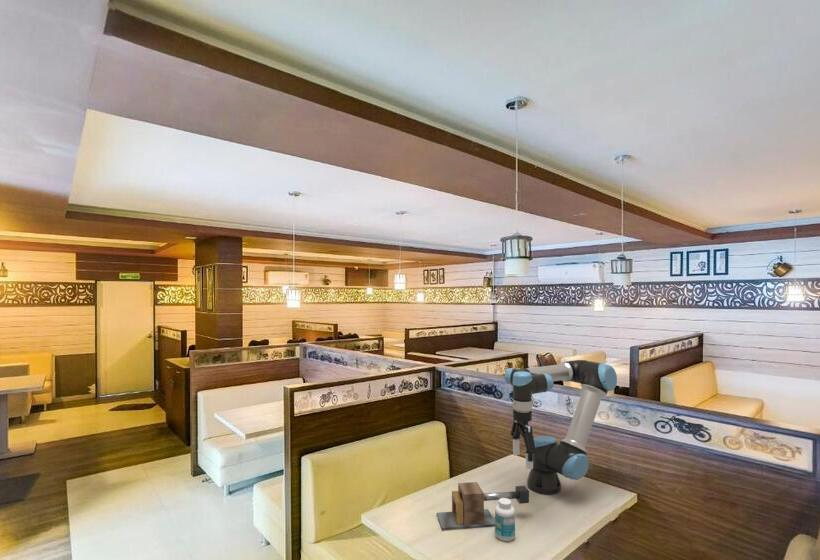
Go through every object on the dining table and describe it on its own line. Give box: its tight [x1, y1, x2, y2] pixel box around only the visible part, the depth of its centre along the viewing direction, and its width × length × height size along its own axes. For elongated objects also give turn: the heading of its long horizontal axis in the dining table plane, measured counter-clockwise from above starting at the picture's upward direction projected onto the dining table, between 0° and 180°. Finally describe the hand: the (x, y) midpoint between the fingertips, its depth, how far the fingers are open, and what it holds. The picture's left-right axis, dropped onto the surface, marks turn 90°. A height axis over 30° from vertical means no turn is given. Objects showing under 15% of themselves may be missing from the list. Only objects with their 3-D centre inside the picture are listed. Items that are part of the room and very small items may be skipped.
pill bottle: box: [494, 498, 516, 542], centre depth 159 cm, size 8×7×14 cm
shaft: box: [483, 485, 530, 505], centre depth 171 cm, size 23×4×5 cm, turn 97°
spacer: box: [451, 490, 463, 525], centre depth 169 cm, size 2×9×9 cm, turn 7°
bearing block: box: [436, 481, 495, 531], centre depth 169 cm, size 22×11×13 cm, turn 97°
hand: (522, 461), depth 173 cm, fingers open, 13 cm apart
